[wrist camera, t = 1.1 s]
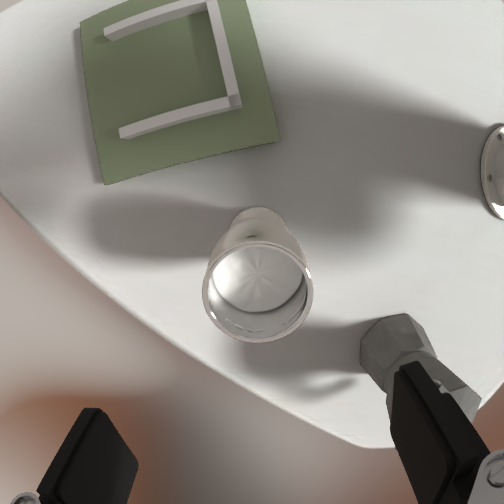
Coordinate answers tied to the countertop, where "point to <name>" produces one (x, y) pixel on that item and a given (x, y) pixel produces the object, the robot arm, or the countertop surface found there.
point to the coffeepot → (410, 360)
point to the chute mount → (173, 84)
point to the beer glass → (257, 279)
